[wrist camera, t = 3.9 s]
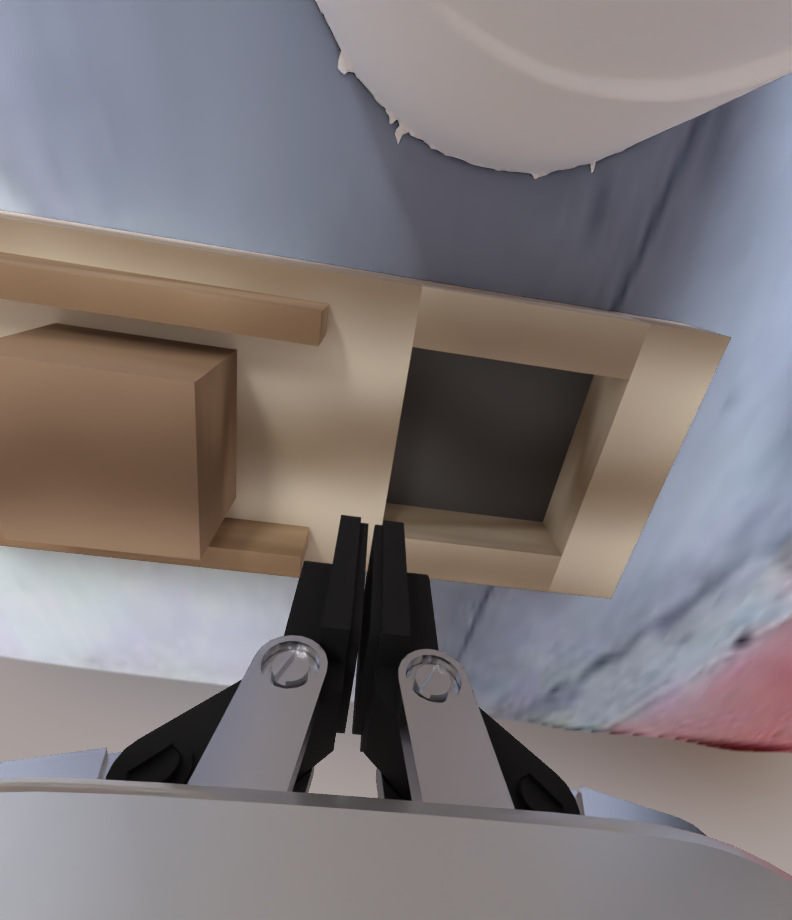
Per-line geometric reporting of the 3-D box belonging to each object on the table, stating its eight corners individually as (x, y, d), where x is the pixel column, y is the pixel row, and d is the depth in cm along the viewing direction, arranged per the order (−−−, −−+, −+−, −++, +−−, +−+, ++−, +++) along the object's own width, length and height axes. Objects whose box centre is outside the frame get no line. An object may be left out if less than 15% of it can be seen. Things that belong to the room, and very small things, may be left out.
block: (55, 323, 16) (-44, 349, 12) (237, 349, 16) (194, 382, 12) (79, 478, 18) (4, 539, 15) (235, 497, 19) (200, 560, 15)
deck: (-434, 138, 16) (-766, 98, 11) (681, 322, 19) (774, 349, 14) (-269, 457, 21) (-451, 519, 16) (585, 558, 24) (631, 631, 20)
